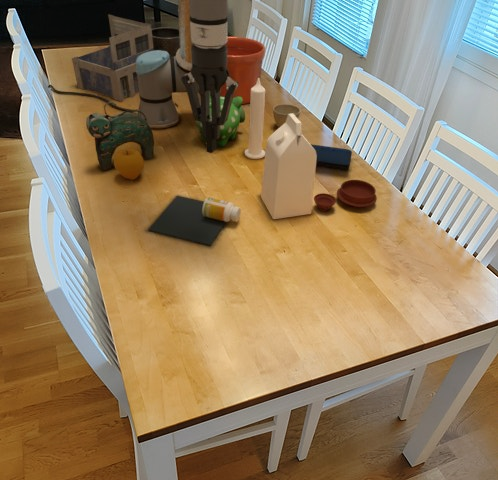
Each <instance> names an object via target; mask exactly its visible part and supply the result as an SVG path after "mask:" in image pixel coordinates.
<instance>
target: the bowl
mask: <svg viewBox="0 0 498 480" xmlns="http://www.w3.org/2000/svg"><path fill="white" fill-rule="evenodd" d="M272 113H273V114H272V115H273V118H274V122H275V124H276V126H277V129H278V128H280V127H281V126H282V125H283V124H284V123H286V119H287V116H288V114H292V113H293V114H294V115H295V116H296V117H297V118H298V119H299V118H300V114H301V108H300V107H298V106H297V105H294V104H291V103H290V104H289V103H280V104H276V105H274V106H273V108H272Z"/></svg>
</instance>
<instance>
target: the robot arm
mask: <svg viewBox="0 0 498 480" xmlns="http://www.w3.org/2000/svg"><path fill="white" fill-rule="evenodd" d="M177 14H178V29H179V39H180V48H179V49H178V51H177V52H176V56H173V57H169V54H168V52H166V51H161V50H156V51H150V52H146V53H143V54H141V55H140V56H139V57H138V58H137V59H136V74H137V78H138V87H139V92H138V95H139V105H138V109H137V110H139V111H141V112H142V113H143V114H144V115H145V117H146V119H147V120H146V122H147V123H148V125H149V127H150V128H151V130H161V129H169V128H172V127H173V126H176V125H177V124H178V123H179V121H180V116H179V113H178V109H179V105H178V104H177V103H176V102H175V101H174V100H173V93H178V94H179V93H186V94H187V97H188V101H189V105H190V109H191V113H192V117H193V119H194V121H195V122H196V121H200V122H201V123H202V134H203V137H206V143H205V147H206V148H205V149H206V150H205V151H206V153H208V154H214V152H215V151H216V150H217V146H216V139H218V138H219V136H220V125H224V124H225V123H226V121H227V120H228V116H229V112H230V108H231V104H232V100H233V96H234V92H235V90H236V89H237V87H238V86H239V82H238V81H233V80H232V79H231V78H230V77H229V72H228V69H227V46H226V43H227V37H228V0H177ZM225 82H226V84H227V85H226V89H227V92H226V95H225V99H224V103H223V107H222V111H221V116H220V93H221V88H222V86H223V85H224V84H225ZM47 88H49V89H50V88H51V89H52V90H53V91H54V92H56V93H58V94H65V95H81V96H89V97H92V98H93V97H94V98H97V99H101V100H103V101H105V102H106V103H108V102H111V100H109V99H108V98H105V97H103V96H100V95H97V94H93V93H87V92H78V91H77V92H76V91H63V90H58V89H56V88H55V87H54V86H53V85H52V84H48V85H47ZM198 93H199V94H198ZM210 96H211V115H212V122H211V121H210V122H209V120H210V119H211V118H210ZM199 97H200V98H199ZM109 105H110V106H111V107H112V108H115V109H117V110H121V111H123V112H125V111H127V110H131V109H129V108H125V107H120V106H118V105H114V104H111V103H110V104H109ZM129 113H134V112H133V111H129ZM136 114H137V115H139V116H141V117H142V118H143V119H145V117H144V115H143V114H141V113H139V112H137V113H136Z"/></svg>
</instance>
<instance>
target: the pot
mask: <svg viewBox="0 0 498 480" xmlns="http://www.w3.org/2000/svg"><path fill="white" fill-rule="evenodd" d="M226 46H227V69H228V72H229V77H230V78H231V79H232V80H233V81H238V82H239V86H238V87H237V89H236V90H235V92H234V96H233V98H235V97H242V99H243V102H242V105H245V104H246V105H247V104H249V103H250V100H251V88H252V87H254V86H255V85H256V84H257V80H258V78H260V79H261V78H262V76H261V75H262V65H263V60H264V58H265V55H266V46H265V45H264V44H263V43H262V42H260V41H259V40H255V39H253V38H249V37H242V36H227V43H226ZM226 85H227V84H226V82H225V84H224V85H223V86H222V88H221V93H220V96H221V97H225V95H226V92H227V89H226Z"/></svg>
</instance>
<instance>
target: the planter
mask: <svg viewBox="0 0 498 480" xmlns="http://www.w3.org/2000/svg"><path fill="white" fill-rule="evenodd" d="M151 29H152V39H153V49H154V51H156V50H161V51H166V52H168V54H169V57H173V56H176V52H177V51H178V49H179V48H180V39H179V27H178V28H177V27H170V26H169V27H167V26H164V27H163V26H161V27H154V28H151Z"/></svg>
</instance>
